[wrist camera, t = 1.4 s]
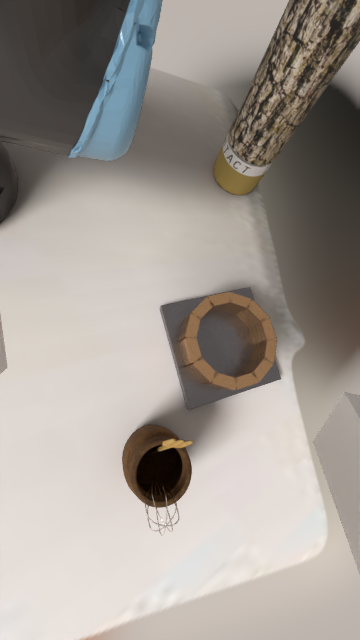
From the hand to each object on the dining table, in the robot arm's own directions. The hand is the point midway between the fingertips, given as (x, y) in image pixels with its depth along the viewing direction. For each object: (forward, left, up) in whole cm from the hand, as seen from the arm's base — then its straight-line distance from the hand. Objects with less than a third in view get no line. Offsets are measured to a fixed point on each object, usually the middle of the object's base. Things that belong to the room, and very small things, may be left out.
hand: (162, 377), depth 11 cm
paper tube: (-25, +22, -21) cm, 39 cm away
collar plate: (-2, +12, -20) cm, 23 cm away
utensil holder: (+7, +1, -21) cm, 22 cm away
